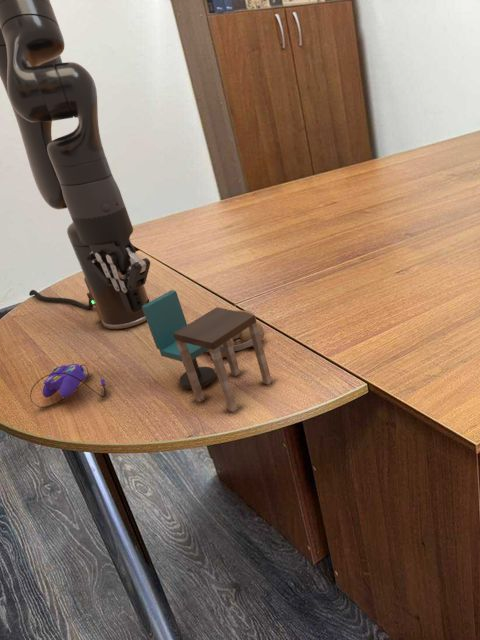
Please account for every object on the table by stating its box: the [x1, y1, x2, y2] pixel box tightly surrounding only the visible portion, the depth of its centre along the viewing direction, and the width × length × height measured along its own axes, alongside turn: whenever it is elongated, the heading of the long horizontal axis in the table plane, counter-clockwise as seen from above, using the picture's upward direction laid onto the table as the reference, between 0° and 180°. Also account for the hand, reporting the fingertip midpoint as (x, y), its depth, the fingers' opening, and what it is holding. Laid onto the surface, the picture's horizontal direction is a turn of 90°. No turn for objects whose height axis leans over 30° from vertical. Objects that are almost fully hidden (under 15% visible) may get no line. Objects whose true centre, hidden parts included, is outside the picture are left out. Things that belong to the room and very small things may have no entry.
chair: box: [142, 289, 217, 390], centre depth 105 cm, size 6×6×15 cm
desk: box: [173, 306, 273, 413], centre depth 102 cm, size 8×9×12 cm
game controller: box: [30, 363, 106, 409], centre depth 105 cm, size 10×8×10 cm
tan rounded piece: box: [205, 309, 265, 359], centre depth 118 cm, size 11×5×15 cm
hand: (135, 309), depth 107 cm, fingers closed
